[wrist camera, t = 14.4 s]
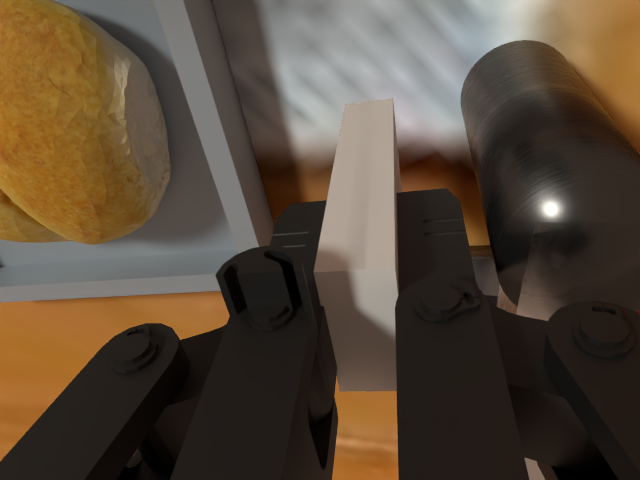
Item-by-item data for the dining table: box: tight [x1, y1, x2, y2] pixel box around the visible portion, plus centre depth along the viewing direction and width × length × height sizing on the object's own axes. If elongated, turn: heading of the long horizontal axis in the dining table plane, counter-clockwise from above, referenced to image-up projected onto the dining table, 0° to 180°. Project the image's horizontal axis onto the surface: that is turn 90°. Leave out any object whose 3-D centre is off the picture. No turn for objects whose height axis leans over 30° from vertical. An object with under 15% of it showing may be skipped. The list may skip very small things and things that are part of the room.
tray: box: [0, 0, 275, 302], centre depth 17 cm, size 14×14×2 cm
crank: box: [461, 40, 640, 480], centre depth 15 cm, size 14×5×8 cm, turn 4°
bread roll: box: [0, 0, 171, 245], centre depth 16 cm, size 8×9×4 cm
